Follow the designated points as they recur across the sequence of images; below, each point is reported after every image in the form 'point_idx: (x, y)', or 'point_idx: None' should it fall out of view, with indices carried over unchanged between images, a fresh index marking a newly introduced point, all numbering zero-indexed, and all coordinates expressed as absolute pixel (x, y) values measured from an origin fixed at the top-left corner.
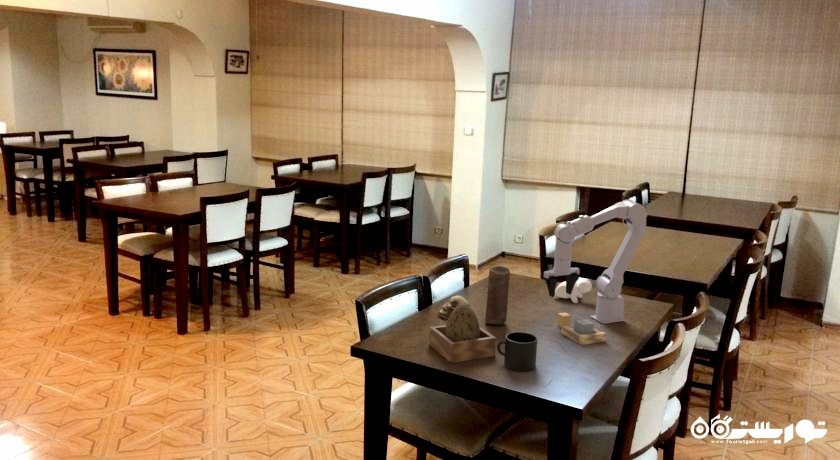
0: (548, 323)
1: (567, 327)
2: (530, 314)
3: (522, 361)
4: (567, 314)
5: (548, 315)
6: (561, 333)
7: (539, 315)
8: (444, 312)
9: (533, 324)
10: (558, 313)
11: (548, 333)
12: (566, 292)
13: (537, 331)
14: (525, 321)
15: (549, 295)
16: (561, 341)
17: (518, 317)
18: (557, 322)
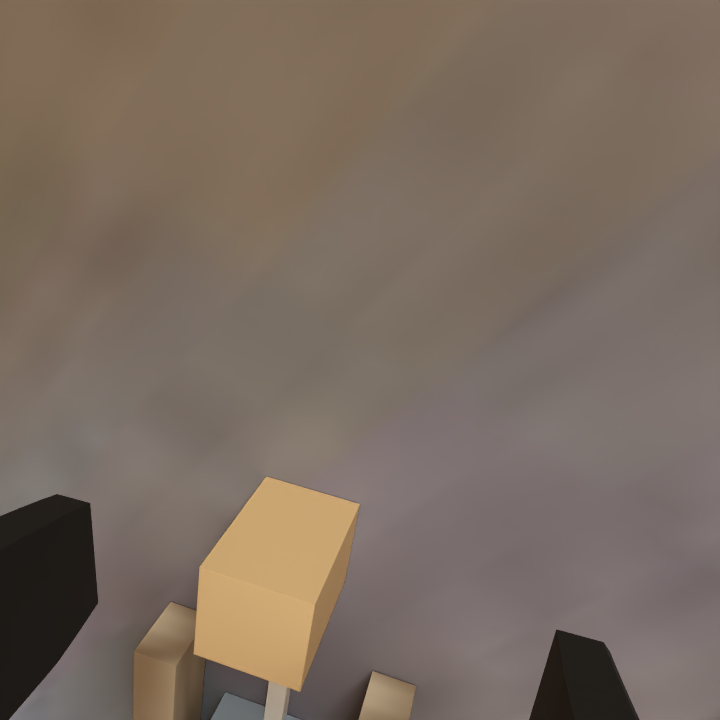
0: (228, 386)
1: (169, 696)
2: (231, 4)
3: None
4: (279, 657)
5: (430, 180)
6: (170, 609)
7: (317, 111)
8: None
9: (69, 316)
10: (203, 574)
11: None
12: (551, 654)
13: (13, 461)
14: (37, 196)
15: (48, 508)
16: (75, 682)
17: (26, 28)
18: (251, 501)
